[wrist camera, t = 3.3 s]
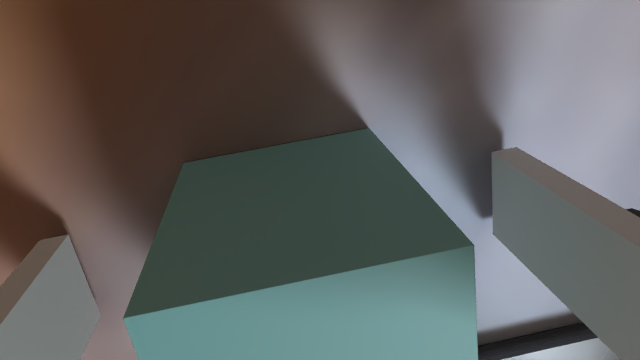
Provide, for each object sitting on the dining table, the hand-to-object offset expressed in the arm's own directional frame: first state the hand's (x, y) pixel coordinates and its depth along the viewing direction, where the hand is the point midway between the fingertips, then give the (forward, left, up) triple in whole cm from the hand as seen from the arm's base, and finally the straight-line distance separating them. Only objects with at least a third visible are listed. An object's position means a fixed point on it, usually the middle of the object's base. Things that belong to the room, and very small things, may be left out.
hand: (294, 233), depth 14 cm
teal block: (0, 0, 0) cm, 0 cm away
